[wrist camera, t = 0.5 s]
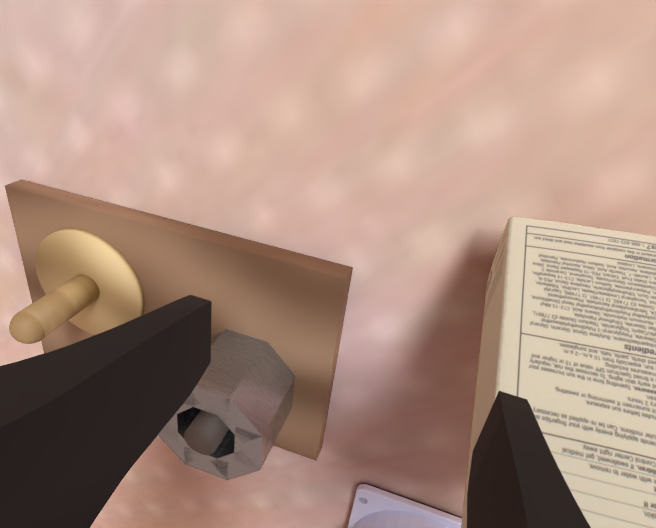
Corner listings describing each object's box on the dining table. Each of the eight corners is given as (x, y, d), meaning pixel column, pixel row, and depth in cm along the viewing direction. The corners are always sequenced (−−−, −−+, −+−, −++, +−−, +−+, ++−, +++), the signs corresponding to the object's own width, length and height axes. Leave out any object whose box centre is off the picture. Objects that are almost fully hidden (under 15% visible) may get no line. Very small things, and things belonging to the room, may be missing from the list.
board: (321, 446, 27) (283, 542, 22) (59, 354, 31) (-23, 420, 26) (352, 267, 21) (309, 345, 16) (21, 179, 25) (-95, 221, 20)
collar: (289, 428, 26) (258, 492, 23) (198, 397, 27) (156, 453, 24) (298, 351, 23) (264, 410, 20) (197, 319, 24) (148, 370, 21)
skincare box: (485, 279, 20) (437, 642, 13) (510, 207, 16) (460, 659, 9) (656, 312, 18) (698, 738, 12) (727, 240, 14) (844, 800, 8)
